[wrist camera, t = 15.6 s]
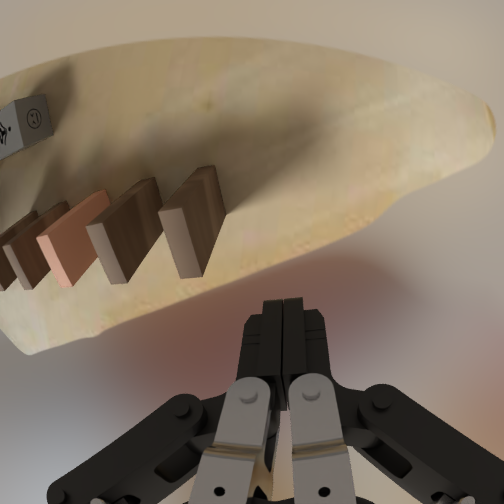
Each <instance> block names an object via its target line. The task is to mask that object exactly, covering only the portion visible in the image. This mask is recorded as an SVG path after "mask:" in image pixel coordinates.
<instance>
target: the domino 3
mask: <svg viewBox="0 0 504 504" xmlns="http://www.w3.org/2000/svg"><path fill="white" fill-rule="evenodd" d="M109 205H111V204H110V201H109V198H108V195H107V192H106V189H104V190H101V191H97V192H94V193H93V194H91V195H90V196H88V197H87V198H86V199H84V200H83V201H82V202H80V203H79V204H78V205H76V206H75V207H74V208H72V209H71V210H70V211H68V212H67V213H66V214H64V215H63V216H62V217H61V218H59V219H58V220H57V221H56V222H54V223H53V224H52V225H51V226H49V227H48V228H47V229H46V230H45V231H43V232H42V233H41V234H40V235H39V236H37V237H36V239H37V241H38V243H39V245H40V248H41V250H42V252H43V254H44V256H45V258H46V260H47V262H48V264H49V266H50V268H51V270H52V272H53V274H54V276H55V278H56V280H57V282H58V283H59V285H60V287H61V288H63V287H73V286H74V285H75V283H76V282H77V281H78V280H79V278H80V277H81V276H82V275H83V274H84V272H85V271H86V270H87V269H88V268H89V266H90V265H91V264H92V263H93V262H94V261H95V260H96V258H97V257H98V255H97V253H96V251H95V248H94V246H93V244H92V241H91V239H90V237H89V234H88V232H87V229H86V227H85V226H86V225H88V224H89V223H90V222H91V221H92V220H93V219H94V218H95V217H97V216H98V215H99V214H100V213H101V212H102V211H104V210H105V209H106V208H107V207H108V206H109Z"/></svg>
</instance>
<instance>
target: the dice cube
mask: <svg viewBox="0 0 504 504" xmlns="http://www.w3.org/2000/svg"><path fill="white" fill-rule="evenodd" d="M51 136H53V130H52V126H51V122H50V117H49V112H48V107H47V102H46V97H45V94H42V95H37V96H32V97H27V98H22V99H18V100H14V101H12V102H11V103H10V104H8V105H7V106H6V107H4V108H3V109H2V110H0V160H2V159H4V158H6V157H8V156H11V155H13V154H15V153H17V152H20V151H22V150H24V149H26V148H28V147H30V146H32V145H34V144H36V143H38V142H40V141H42V140H45V139H47V138H49V137H51Z"/></svg>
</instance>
